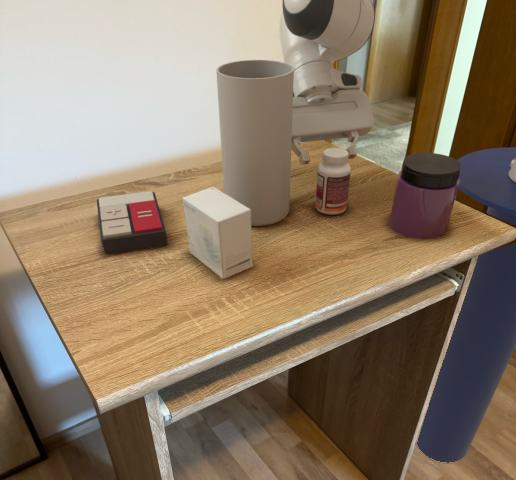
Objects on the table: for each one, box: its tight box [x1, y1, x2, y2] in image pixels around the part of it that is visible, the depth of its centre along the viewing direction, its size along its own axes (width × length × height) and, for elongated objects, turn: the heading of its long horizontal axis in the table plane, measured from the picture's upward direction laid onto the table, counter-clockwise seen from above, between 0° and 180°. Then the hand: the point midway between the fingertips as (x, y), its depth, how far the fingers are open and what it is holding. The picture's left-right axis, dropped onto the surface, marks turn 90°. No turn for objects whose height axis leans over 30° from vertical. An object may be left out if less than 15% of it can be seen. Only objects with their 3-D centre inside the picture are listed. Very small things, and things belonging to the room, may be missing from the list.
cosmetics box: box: [182, 186, 254, 280], centre depth 79 cm, size 10×6×10 cm, turn 37°
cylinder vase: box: [215, 59, 294, 227], centre depth 87 cm, size 12×12×25 cm
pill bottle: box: [314, 147, 352, 216], centre depth 92 cm, size 6×6×11 cm
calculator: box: [96, 190, 168, 255], centre depth 89 cm, size 11×4×15 cm
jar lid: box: [400, 152, 461, 188], centre depth 84 cm, size 10×10×2 cm
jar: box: [389, 170, 460, 240], centre depth 87 cm, size 10×10×11 cm
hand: (328, 160), depth 92 cm, fingers open, 8 cm apart
